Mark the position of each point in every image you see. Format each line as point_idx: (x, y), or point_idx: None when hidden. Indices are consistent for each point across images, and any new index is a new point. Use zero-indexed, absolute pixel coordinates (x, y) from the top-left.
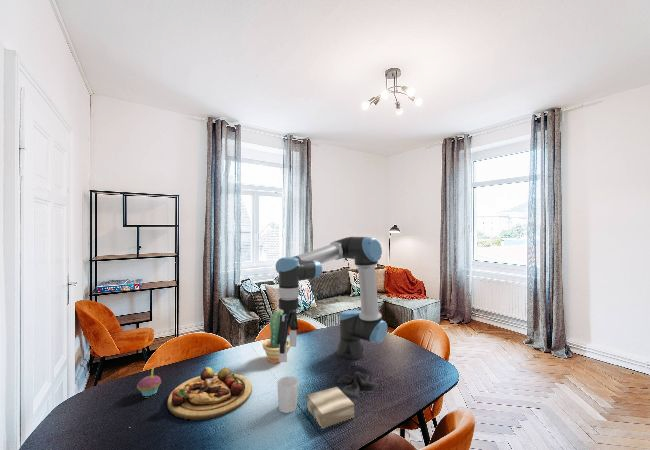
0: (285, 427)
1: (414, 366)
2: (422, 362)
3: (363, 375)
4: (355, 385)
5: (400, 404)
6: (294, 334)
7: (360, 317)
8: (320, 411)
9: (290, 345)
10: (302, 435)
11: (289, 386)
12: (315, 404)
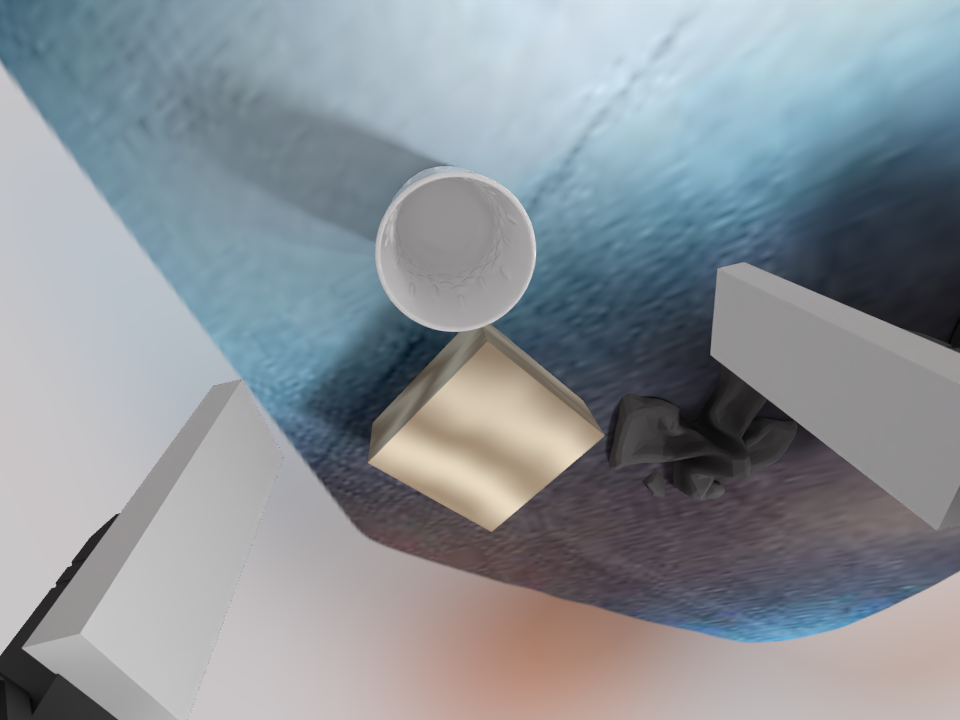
0: (302, 285)
1: (851, 558)
2: (879, 571)
3: (776, 443)
4: (683, 447)
5: (601, 572)
6: (867, 444)
7: None
8: (383, 449)
9: (725, 290)
10: (298, 374)
11: (508, 221)
12: (423, 411)
